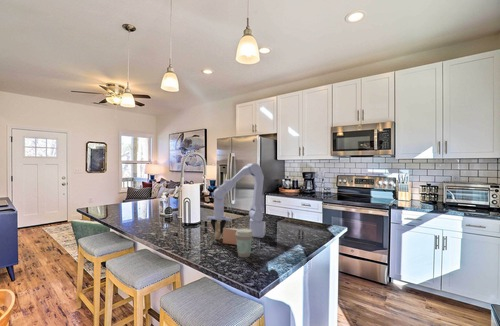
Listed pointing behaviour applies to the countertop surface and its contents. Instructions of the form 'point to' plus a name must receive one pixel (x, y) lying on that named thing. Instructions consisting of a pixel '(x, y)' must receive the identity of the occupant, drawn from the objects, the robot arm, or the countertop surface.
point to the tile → (229, 236)
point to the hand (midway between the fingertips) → (218, 232)
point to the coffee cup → (244, 241)
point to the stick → (218, 230)
